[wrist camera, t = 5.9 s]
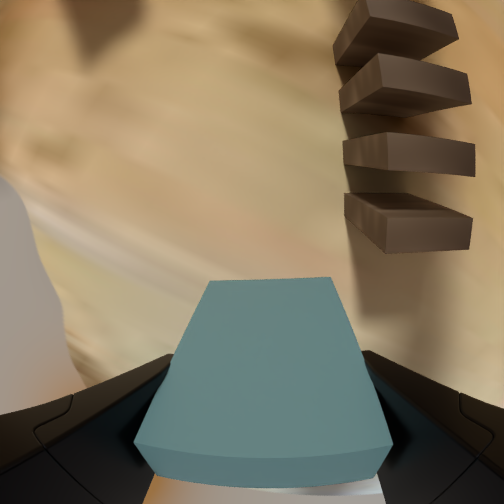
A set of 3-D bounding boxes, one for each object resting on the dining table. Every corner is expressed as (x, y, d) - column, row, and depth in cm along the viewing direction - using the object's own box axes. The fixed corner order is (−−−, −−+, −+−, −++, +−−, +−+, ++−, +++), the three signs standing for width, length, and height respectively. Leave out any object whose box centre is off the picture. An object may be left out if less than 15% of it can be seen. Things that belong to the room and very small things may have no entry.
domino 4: (344, 193, 19) (387, 217, 11) (407, 193, 18) (472, 218, 11) (344, 215, 19) (385, 253, 12) (407, 215, 19) (469, 249, 11)
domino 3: (342, 141, 17) (386, 132, 10) (407, 144, 17) (475, 144, 9) (343, 164, 18) (388, 170, 10) (408, 166, 17) (475, 177, 10)
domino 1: (332, 45, 15) (363, -10, 8) (397, 53, 15) (451, 14, 7) (335, 64, 16) (370, 16, 8) (400, 72, 15) (459, 39, 8)
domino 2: (338, 90, 16) (377, 53, 9) (403, 96, 16) (466, 73, 8) (340, 112, 17) (382, 86, 9) (405, 117, 16) (471, 104, 9)
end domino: (209, 280, 12) (133, 442, 4) (330, 276, 11) (393, 444, 4) (214, 313, 12) (156, 475, 5) (328, 310, 12) (372, 477, 4)
